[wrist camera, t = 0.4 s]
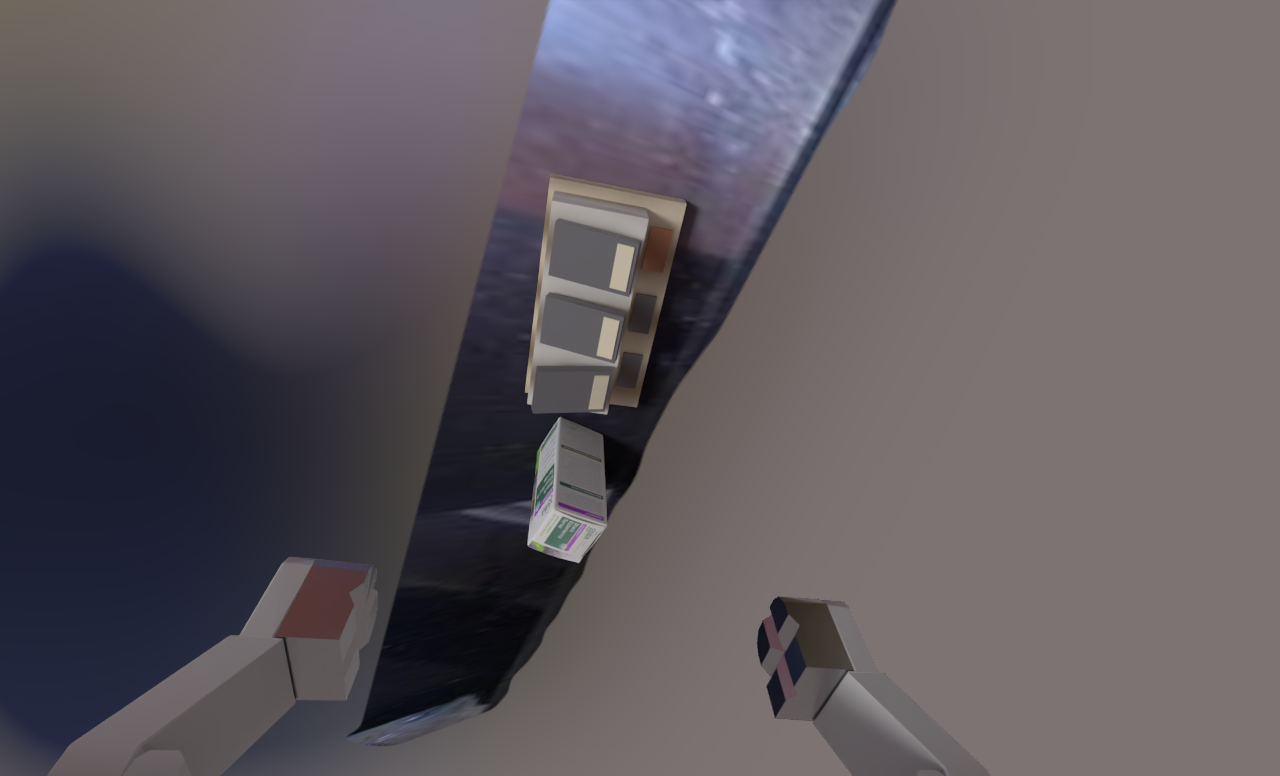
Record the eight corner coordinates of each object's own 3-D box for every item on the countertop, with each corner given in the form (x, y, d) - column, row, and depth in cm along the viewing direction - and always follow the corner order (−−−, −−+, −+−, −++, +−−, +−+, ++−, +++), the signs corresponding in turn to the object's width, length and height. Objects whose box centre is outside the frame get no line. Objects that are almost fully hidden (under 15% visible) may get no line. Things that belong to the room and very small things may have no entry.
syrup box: (559, 414, 63) (550, 508, 50) (605, 434, 64) (608, 529, 52) (537, 450, 65) (523, 547, 53) (582, 468, 67) (579, 566, 55)
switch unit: (551, 173, 49) (546, 189, 44) (684, 199, 51) (694, 217, 46) (526, 384, 60) (520, 416, 55) (636, 399, 62) (639, 431, 57)
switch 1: (559, 218, 46) (554, 221, 45) (641, 240, 45) (639, 244, 44) (552, 271, 48) (547, 275, 47) (630, 292, 48) (628, 297, 47)
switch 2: (536, 365, 51) (538, 372, 50) (610, 366, 53) (613, 372, 53) (531, 407, 53) (533, 414, 52) (601, 405, 56) (604, 412, 55)
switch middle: (549, 292, 49) (545, 296, 48) (626, 313, 49) (623, 318, 48) (543, 338, 51) (539, 343, 50) (616, 358, 51) (614, 364, 50)
